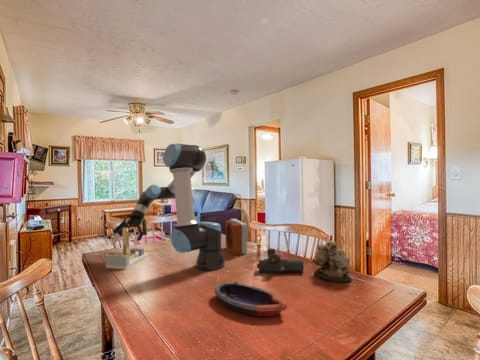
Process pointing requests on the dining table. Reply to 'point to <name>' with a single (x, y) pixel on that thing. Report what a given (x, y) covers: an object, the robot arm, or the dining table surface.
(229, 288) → the dish
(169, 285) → the dining table surface
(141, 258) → the jamb board
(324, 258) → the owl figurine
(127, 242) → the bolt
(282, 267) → the laser sight
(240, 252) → the alarm clock
